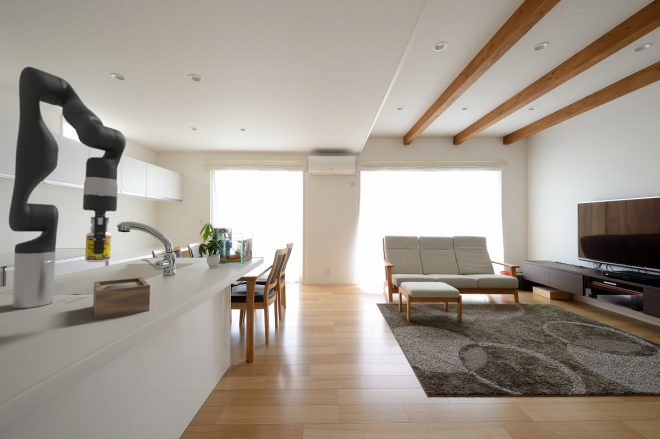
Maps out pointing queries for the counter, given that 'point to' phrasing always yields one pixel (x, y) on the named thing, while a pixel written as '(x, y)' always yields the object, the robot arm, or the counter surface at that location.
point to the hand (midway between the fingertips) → (98, 252)
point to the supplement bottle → (90, 248)
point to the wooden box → (120, 297)
